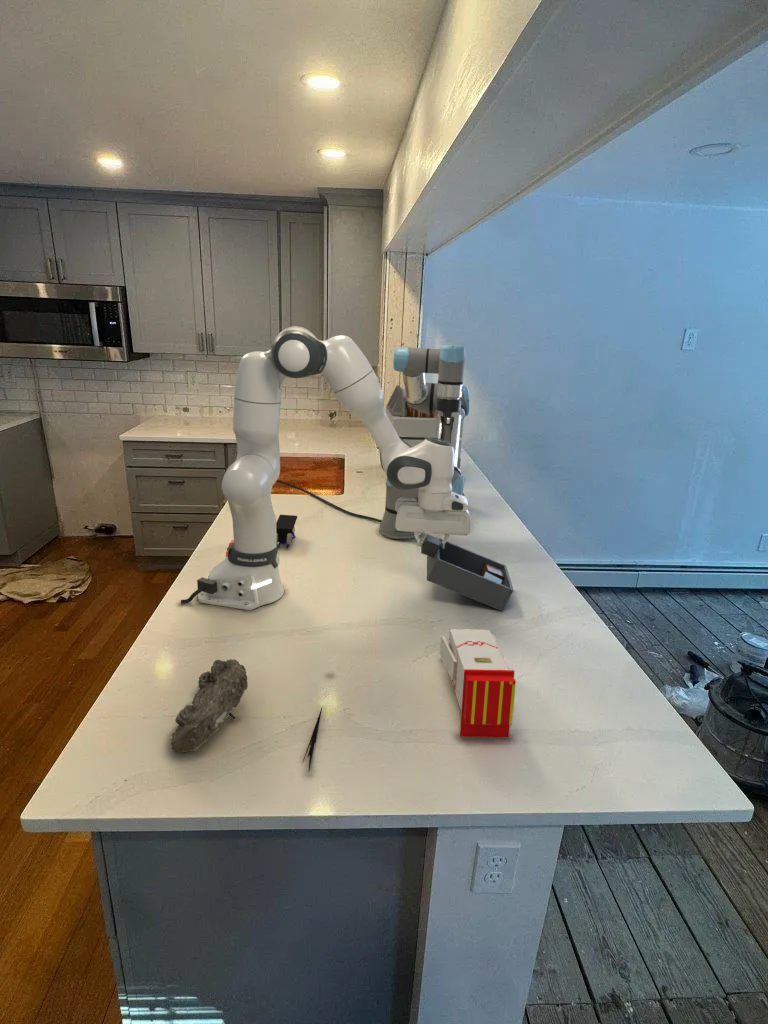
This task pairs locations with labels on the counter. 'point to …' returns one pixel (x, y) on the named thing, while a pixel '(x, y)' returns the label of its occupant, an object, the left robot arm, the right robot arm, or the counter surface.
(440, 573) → the bin
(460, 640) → the toy
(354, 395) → the left robot arm
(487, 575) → the teal cube
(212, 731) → the fossil
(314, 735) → the feather
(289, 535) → the figurine character
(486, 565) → the walnut cube
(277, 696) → the counter surface
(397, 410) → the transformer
